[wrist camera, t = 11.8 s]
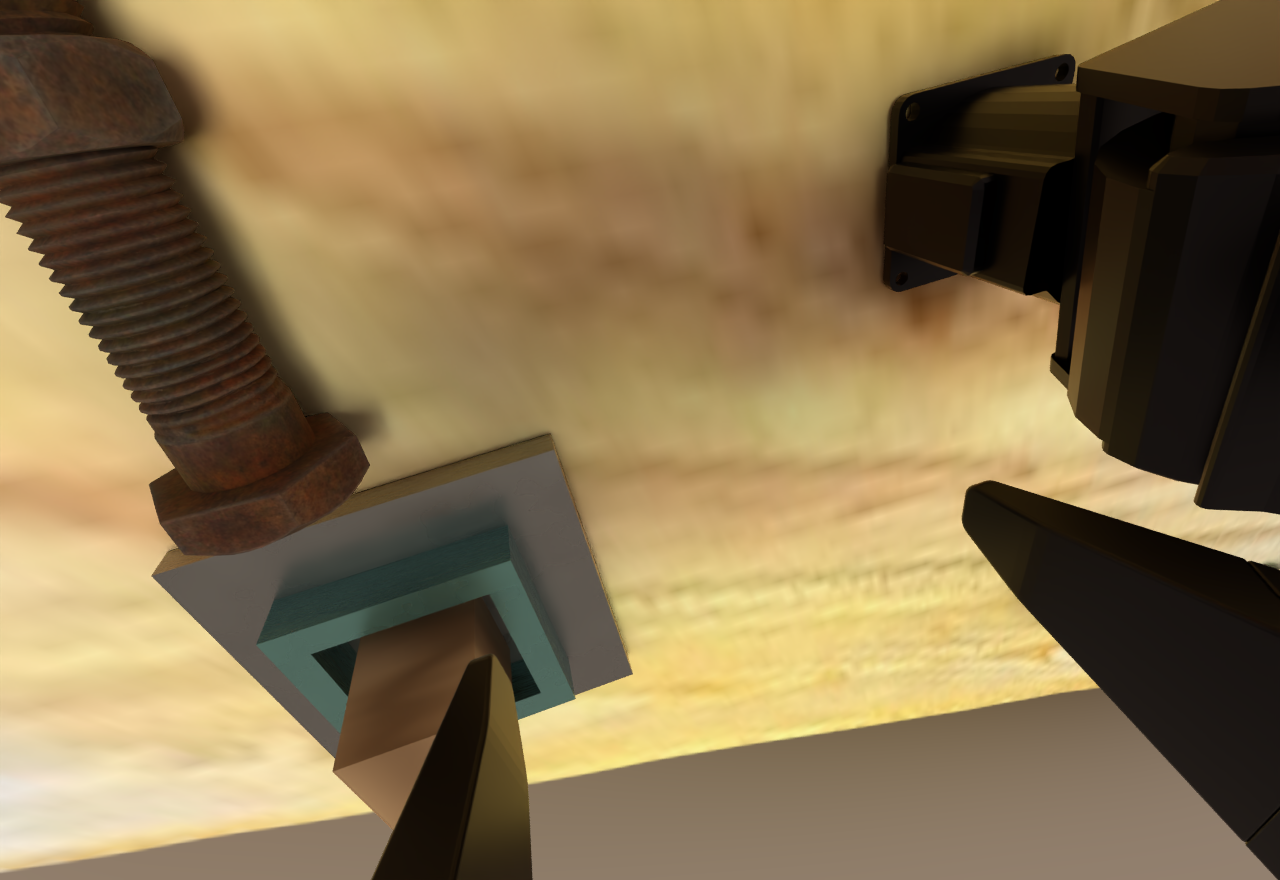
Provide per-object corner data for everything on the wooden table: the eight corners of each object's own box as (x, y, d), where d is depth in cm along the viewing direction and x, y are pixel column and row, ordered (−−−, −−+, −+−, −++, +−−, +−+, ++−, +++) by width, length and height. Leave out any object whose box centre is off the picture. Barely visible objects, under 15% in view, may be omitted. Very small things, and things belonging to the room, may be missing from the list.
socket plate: (550, 433, 21) (561, 481, 18) (627, 654, 29) (642, 710, 26) (167, 551, 20) (119, 622, 17) (356, 751, 27) (344, 820, 25)
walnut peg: (474, 582, 22) (474, 720, 17) (509, 649, 25) (519, 786, 20) (364, 619, 22) (332, 771, 17) (411, 683, 24) (395, 832, 19)
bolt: (52, -116, 13) (332, 436, 21) (-304, -141, 10) (172, 507, 18) (43, -255, 9) (393, 491, 17) (-541, -357, 6) (201, 592, 14)
